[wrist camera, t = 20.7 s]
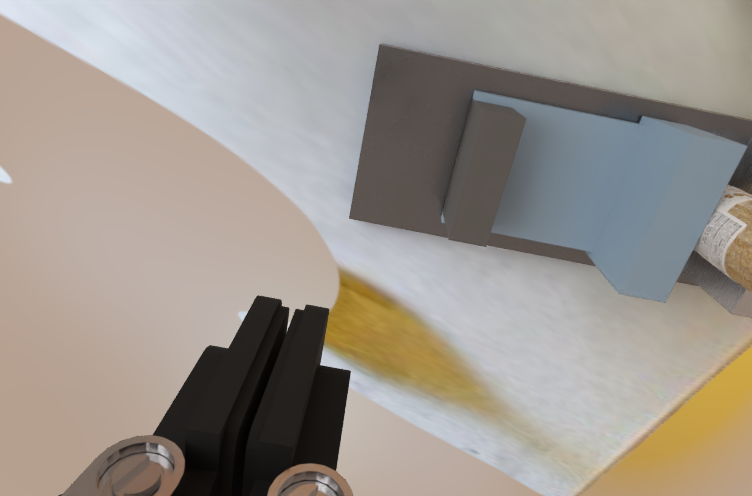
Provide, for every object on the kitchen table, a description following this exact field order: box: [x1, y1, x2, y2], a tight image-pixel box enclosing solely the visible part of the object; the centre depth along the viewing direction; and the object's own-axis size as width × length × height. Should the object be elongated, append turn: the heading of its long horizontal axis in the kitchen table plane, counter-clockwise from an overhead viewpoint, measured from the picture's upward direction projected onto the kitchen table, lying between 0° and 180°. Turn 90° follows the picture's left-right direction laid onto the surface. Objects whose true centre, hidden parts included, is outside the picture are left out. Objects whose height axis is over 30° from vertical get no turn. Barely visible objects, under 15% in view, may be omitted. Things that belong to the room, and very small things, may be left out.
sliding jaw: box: [441, 90, 747, 303], centre depth 30 cm, size 14×10×6 cm
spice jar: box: [693, 184, 752, 293], centre depth 27 cm, size 5×5×14 cm
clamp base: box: [349, 44, 752, 318], centre depth 31 cm, size 30×12×8 cm, turn 79°
